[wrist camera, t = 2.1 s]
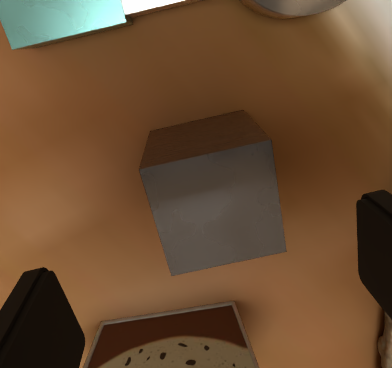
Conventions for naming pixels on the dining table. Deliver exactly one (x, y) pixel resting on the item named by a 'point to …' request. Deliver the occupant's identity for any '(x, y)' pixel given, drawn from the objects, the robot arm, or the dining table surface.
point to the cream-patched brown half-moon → (174, 340)
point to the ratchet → (113, 16)
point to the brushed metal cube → (213, 192)
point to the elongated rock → (386, 344)
